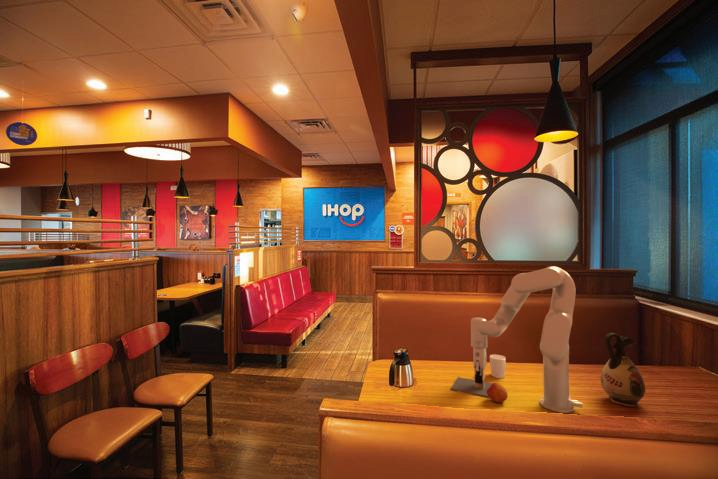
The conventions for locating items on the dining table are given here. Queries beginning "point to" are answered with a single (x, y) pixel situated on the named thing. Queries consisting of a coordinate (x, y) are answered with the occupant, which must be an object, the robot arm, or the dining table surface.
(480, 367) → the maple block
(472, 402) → the dining table surface
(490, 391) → the fruit
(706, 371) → the dining table surface
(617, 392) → the ceramic jug
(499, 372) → the white cup
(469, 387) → the rubber mat
